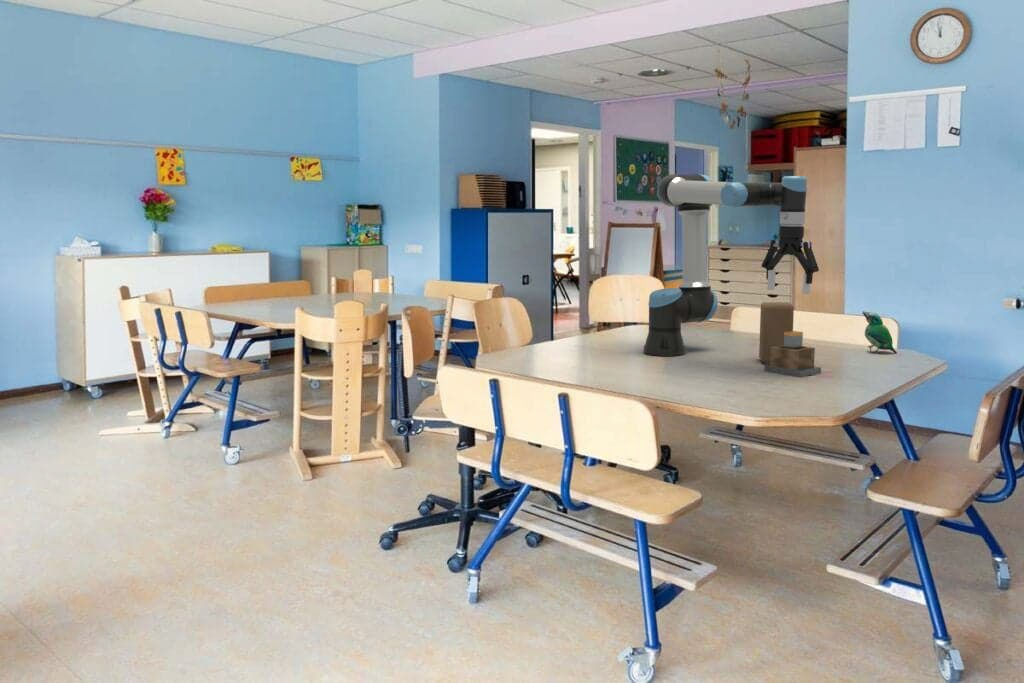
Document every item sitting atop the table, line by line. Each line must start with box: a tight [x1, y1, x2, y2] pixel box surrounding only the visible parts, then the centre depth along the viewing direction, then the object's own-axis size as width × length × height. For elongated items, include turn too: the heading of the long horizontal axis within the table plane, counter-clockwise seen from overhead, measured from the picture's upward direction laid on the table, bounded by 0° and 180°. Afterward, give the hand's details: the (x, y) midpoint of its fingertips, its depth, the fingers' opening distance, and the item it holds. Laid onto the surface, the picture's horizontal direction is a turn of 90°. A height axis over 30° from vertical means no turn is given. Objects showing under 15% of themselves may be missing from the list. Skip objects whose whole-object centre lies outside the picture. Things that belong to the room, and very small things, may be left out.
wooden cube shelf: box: [769, 345, 816, 370], centre depth 271 cm, size 10×10×6 cm
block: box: [758, 301, 795, 364], centre depth 290 cm, size 10×10×20 cm
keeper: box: [763, 330, 822, 378], centre depth 271 cm, size 14×10×13 cm
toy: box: [861, 310, 898, 354], centre depth 305 cm, size 12×8×15 cm, turn 73°
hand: (787, 292), depth 273 cm, fingers open, 13 cm apart
